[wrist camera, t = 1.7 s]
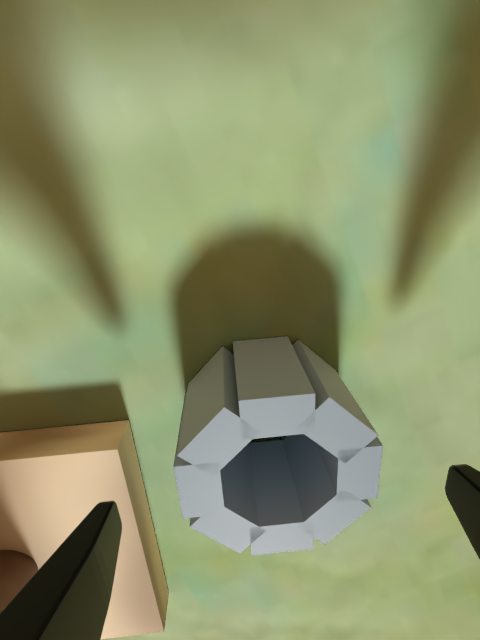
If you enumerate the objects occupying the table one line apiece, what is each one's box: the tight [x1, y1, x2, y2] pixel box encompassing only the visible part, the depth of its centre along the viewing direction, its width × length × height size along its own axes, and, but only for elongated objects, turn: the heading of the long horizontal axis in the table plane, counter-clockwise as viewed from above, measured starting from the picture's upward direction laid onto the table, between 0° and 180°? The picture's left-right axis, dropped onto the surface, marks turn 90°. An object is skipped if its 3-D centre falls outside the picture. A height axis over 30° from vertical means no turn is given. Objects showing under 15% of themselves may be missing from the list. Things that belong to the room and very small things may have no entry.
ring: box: [173, 336, 383, 556], centre depth 11 cm, size 6×6×4 cm
